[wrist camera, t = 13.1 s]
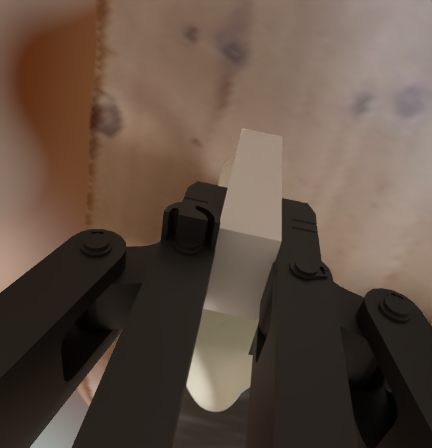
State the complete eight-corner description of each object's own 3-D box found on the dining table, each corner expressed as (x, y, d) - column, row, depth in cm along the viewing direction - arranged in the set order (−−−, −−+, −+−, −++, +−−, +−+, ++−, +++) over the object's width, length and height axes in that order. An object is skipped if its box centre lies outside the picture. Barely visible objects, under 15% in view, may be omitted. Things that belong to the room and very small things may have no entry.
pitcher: (308, 133, 32) (321, 229, 20) (283, 296, 42) (282, 422, 30) (174, 123, 33) (116, 210, 22) (181, 285, 43) (144, 401, 32)
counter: (159, 282, 43) (62, 535, 24) (304, 314, 43) (320, 597, 24) (150, 370, 52) (74, 604, 33) (269, 397, 52) (260, 650, 33)
